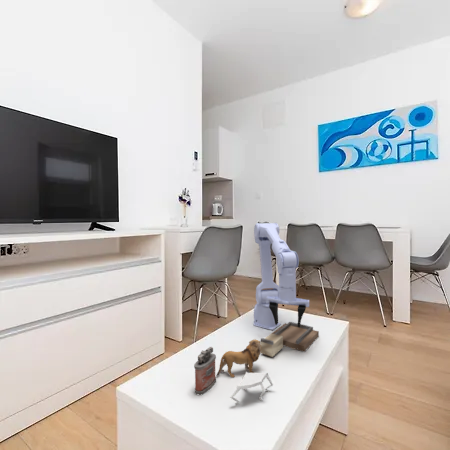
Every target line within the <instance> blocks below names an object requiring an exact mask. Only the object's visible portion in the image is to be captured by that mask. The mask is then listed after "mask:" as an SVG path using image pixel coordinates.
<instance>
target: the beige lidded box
mask: <svg viewBox="0 0 450 450" xmlns="http://www.w3.org/2000/svg"><path fill="white" fill-rule="evenodd" d="M272 333H273V332H271V333H270V334H269V335H267V336H266V337H265V338H264V337H261V338H260V344H261V347H262V348H261V353H260V354H263V355H265V356H268V357H271V358H274V357H275V356H276V355H277V354H278V353H279V352H280V351H282V349H283V348H284V346H283V336H280V335H276V334H272Z"/></svg>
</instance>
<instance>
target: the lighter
mask: <svg viewBox="0 0 450 450" xmlns="http://www.w3.org/2000/svg"><path fill="white" fill-rule="evenodd" d="M213 352H214V347H213V346H209V347H208V348H206V349H205V350H201V351H200V353H199V354H198V355H197V361H196V362H195V363H194V365H193V366H194V379H195V381H194V386H195V388H194V393H196V394H195V395H197V394H199V395H198V396H202V395H204V394H206V393H207V392H208V391H210V390H211V389H212V388H213V387H214V386H215V384H216V383H217V378H216V377H217V376H216V360H217V357H216V355H217V354H215V353H213ZM201 394H202V395H201Z"/></svg>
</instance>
